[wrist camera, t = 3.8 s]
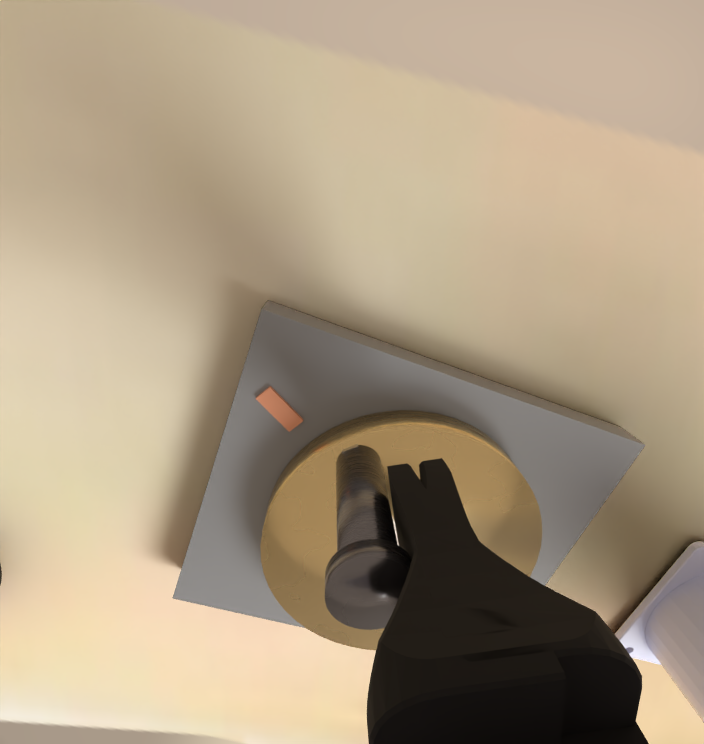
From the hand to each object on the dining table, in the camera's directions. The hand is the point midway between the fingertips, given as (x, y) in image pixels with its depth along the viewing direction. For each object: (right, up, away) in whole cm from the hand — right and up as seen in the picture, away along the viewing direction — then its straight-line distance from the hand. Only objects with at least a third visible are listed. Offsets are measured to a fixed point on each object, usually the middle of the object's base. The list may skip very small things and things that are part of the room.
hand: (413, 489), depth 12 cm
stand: (0, -2, +6) cm, 7 cm away
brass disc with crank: (0, -3, +5) cm, 6 cm away
